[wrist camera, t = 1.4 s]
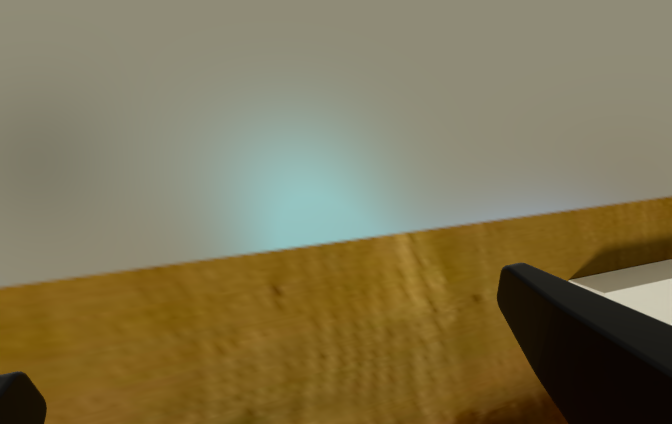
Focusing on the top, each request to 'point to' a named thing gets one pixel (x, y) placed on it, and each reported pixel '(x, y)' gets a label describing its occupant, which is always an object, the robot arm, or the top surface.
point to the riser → (636, 288)
